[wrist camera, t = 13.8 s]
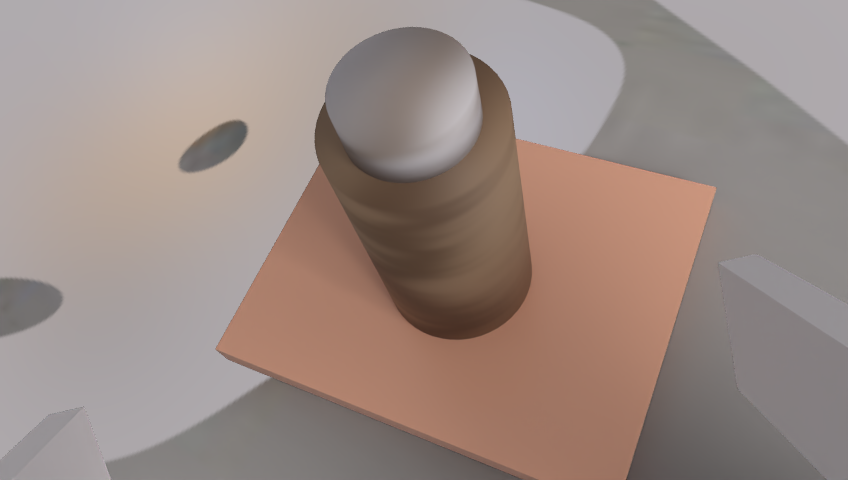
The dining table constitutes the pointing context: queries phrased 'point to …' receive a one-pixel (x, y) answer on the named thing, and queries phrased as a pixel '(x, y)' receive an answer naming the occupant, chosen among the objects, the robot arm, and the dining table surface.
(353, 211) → the pepper mill
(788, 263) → the dining table surface
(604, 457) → the plate
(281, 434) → the dining table surface
